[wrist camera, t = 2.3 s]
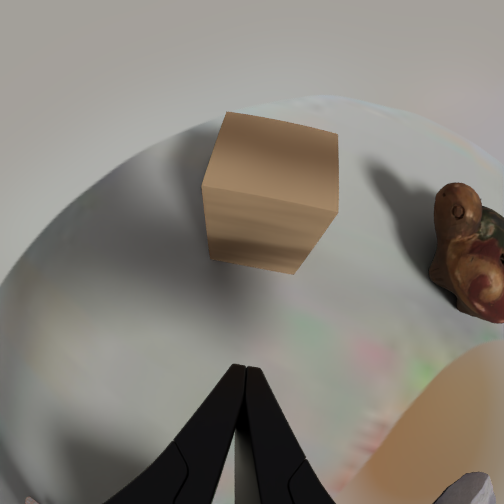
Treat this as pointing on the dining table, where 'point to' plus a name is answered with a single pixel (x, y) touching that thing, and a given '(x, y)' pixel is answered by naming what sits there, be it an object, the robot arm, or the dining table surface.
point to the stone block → (469, 490)
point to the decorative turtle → (469, 252)
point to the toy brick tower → (30, 501)
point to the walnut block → (269, 192)
